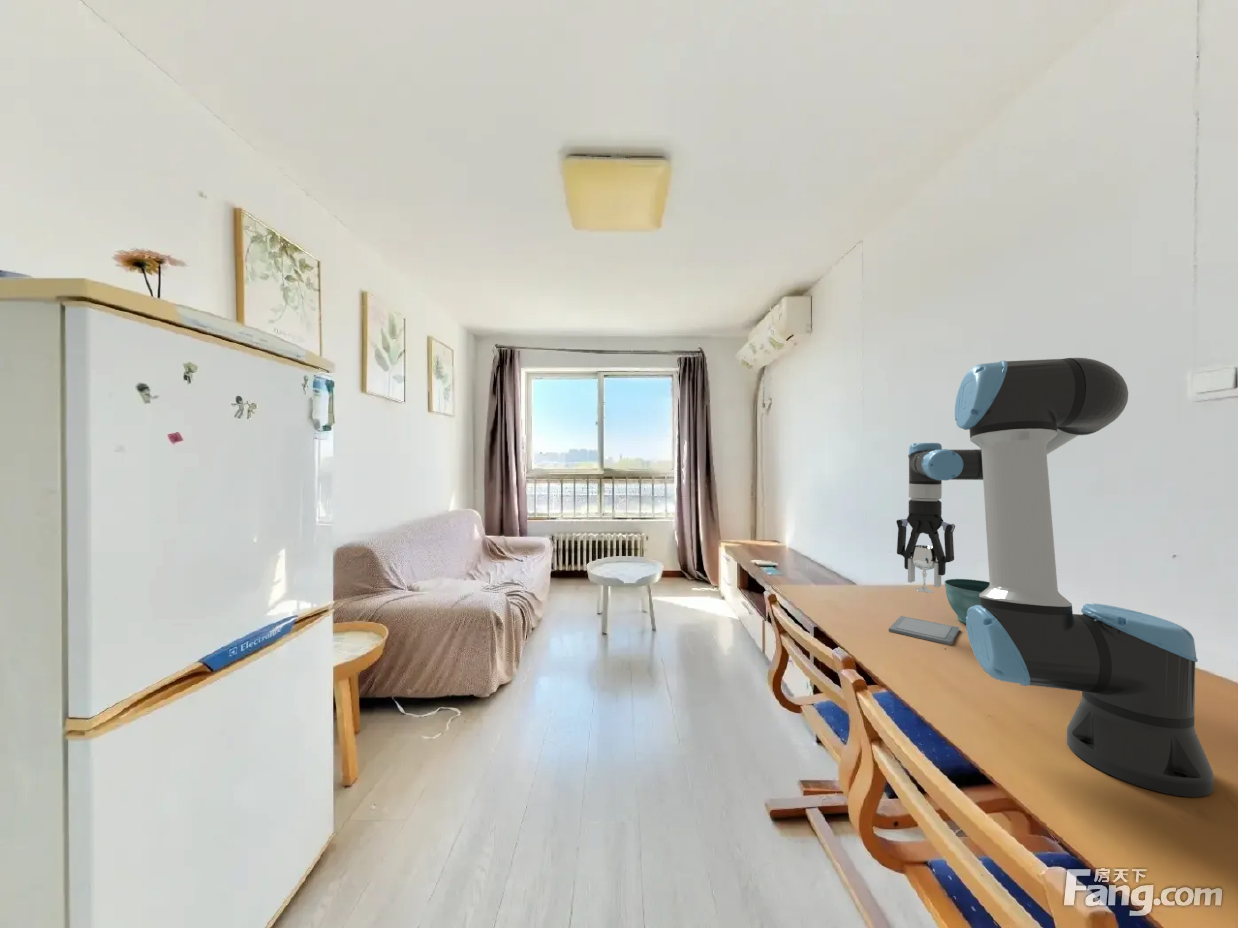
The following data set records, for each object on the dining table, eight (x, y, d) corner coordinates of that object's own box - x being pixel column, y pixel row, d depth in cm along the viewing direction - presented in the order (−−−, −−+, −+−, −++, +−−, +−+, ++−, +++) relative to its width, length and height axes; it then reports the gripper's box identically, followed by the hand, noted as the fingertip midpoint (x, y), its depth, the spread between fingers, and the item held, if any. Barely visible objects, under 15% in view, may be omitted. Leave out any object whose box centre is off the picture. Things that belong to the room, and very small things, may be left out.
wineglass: (938, 590, 127) (938, 546, 127) (934, 594, 123) (935, 549, 123) (914, 586, 131) (914, 543, 131) (909, 590, 127) (909, 546, 127)
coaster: (951, 645, 117) (951, 641, 117) (888, 631, 127) (888, 627, 127) (959, 630, 128) (959, 626, 128) (901, 618, 137) (901, 615, 137)
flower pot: (951, 610, 144) (951, 575, 144) (1020, 623, 133) (1020, 585, 132) (937, 622, 134) (937, 585, 133) (1010, 638, 122) (1010, 597, 122)
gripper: (970, 501, 122) (970, 589, 122) (894, 496, 137) (893, 574, 137) (960, 502, 117) (959, 594, 117) (882, 497, 132) (882, 579, 132)
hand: (924, 583), depth 127 cm, fingers closed on wineglass, 6 cm apart
